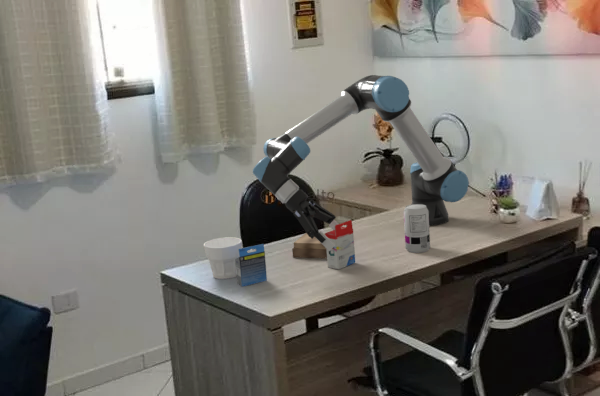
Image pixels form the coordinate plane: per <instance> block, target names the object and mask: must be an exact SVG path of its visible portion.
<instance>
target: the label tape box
mask: <svg viewBox="0 0 600 396" xmlns="http://www.w3.org/2000/svg"><path fill="white" fill-rule="evenodd" d="M238 250H239V257H238V258H236V259H235V265H236V283H237V285H239V286H240V287H242V288H243V287H247V286H251V285H254V284H258V283H259V284H260V283H263V282H267V280H268V278H267V276H268V275H267V265H266V263H267V262H266V252H265V251H266V250H265V244H264V243H261V244H256V245H251V246H247V247H242V248H240V249H238ZM251 250H253V251H251ZM254 250H255V251H254ZM250 251H251V252H250Z"/></svg>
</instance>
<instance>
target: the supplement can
mask: <svg viewBox="0 0 600 396" xmlns="http://www.w3.org/2000/svg"><path fill="white" fill-rule="evenodd" d="M411 204H412V203H411ZM411 204H408V205H406V206H404V207H405V208H404V209H403V224H404V226H403V228H404V242H405V244H404V245H405V246H404V248H405V249H406V250H407V252H409V253H414V254H417V253H425V252H428V251H429V249H430V248H431V237H430V226H429V212H428V209H427V207H426V205H423V204H412V205H411Z"/></svg>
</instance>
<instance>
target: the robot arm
mask: <svg viewBox="0 0 600 396" xmlns="http://www.w3.org/2000/svg"><path fill="white" fill-rule="evenodd" d="M411 106H412V100H411V98H410V90H409V88H408V85H407V84H406V83H405V82H404V80H402V79H400V78H399V77H395V76H392V75H376V74H374V75H373V74H371V75H367V76H364V77H362V78H360V79H358V80H357V81H355V82H354V83H353V84H351V85H350V86H348V87H346V88H344V90H342V91H341V92H340V96H338V97H336V98H335V99H334V100H332V101H331V102H329V103H328V104H326V105H325V106H323V107H322V108H320V109H318V110H317V111H315V112H314V113H313V114H311V115H310V116H308V117H307V118H305V119H304V120H302V121H300V122H299V123H298V124H296V125H295V126H293V127H291V128H290V129H288V130H287V131H286V132H283V133H282V134H281V135H279V136H278V137H274V138H273V137H272V138H270V139H268V140H266V141H265V142H264V144H263V154H264V157H263V158H262V159H260V160H259V161H258V162H257V163H256V165H255V166H254V167H253V169H252V175H254V177H255V178H256V179H257V180H258V181H259V182H260V183H261V184H262V185H263V186H264V187H265V188H266V189H267V190H269V192H271V194H273V195H274V196H275V198H277V199H276V200H278V201H280V202H281V203H282V204H284V205H285V207H286V209H288V210H289V211H290V212H291V213H293V216H294V217H295V219H297V220H298V223H299V224H300V225H301V226H302V228H303V230H304V232H305V233H307V234H308V236H309V237H311V238H312V239H313V238H314V237H315V238H316V239H317V240H318V241H319V242H320V243H321V244H322V245H323V246H324V247H325V248H327V249H328V250H329V251H330V250H331V249H332V248H333V247H334V246H335V244H334V243H333V242H332V241H331V240H330V239H329V238H328V237H327V236H326V235H325V233H324V232H323V231H322V230H320V231H319V229H318V226H317V224H316V221H315V220H314V218H316V219H317V220H320V221H322V222H324V223H327V224H329V225H328V226H329V228H331V230H332V231H333V230H335V225H338V224H339V222H338V221H336V220H335V219H336V215H335V214H334V213H332V212H331V211H329V210H327V209H326V208H324V207H323V206H321V205H320V204H318V203H317V202H316V201H315V200H313V199H311V200H309V201H308V197H309V196H308V194H307V193H305V191H304V190H303V189H301V188H300V187H299V185H298V184H297V183H296V182H294V181H293V180H292V179H291V178H290V177H289V175H290V174H291V173H292V172H293V171H294V170H295V169H296V168H297V167H298V166H299V165H300V164H301V163H302V162H303V161H305V159H306V158H307V157H308V156H309V155H310V154H311V148H310V145H308V144H309V143H311V142H312V141H314V140H315V139H317V138H318V137H319V136H321V135H323V134H324V133H326V132H327V131H329V130H330V129H332V128H333V127H335V126H336V125H338V124H339V123H341V122H343V120H346V119H347V118H348V117H349V116H351V115H358V114H359V113H361V112H363V111H365V110H369V109H372V110H375V112H377V114H378V115H379V117H380V118H381V120H382V121H383V122H386V123H389V124H390V125H391V126H392V128H393V129H394V131H395V132H396V134H397V135H398V137H399V138H400V139H401V141H402V143H403V144H404V145H405V146H406V148H407V149H408V151H409V152H410V153H411V155H412V157H413V158H414V159H415V161H416V162H413V163H412V164H411V165H410V171H409V173H410V188H411V204H410V205H412V204H423V205H426V207H427V209H428V212H429V227H430V226H437V225H442V224H445V223H447V222H449V220H450V219H449V213H448V210H447V207H446V204H445V202H447V203H455V202H458V201H461V200H462V199H463V198H464V197H465V196H466V194H467V192H468V188H469V184H470V182H469V177H468V176H467V174H466V173H465V172H463V171H462V170H460V169H459V170H458V169H457V167H456V166H455V164H453V162H452V161H451V158H447V157H444V156H443V154H442V153H441V151H440V150H439V149H438V147H437V146H436V144H435V143H434V141H433V140H432V138H431V137H430V135H429V134H428V132H427V131H426V129H425V128H424V126H423V125H422V123H421V122H420V120H419V119H418V117H417V115H415V113H414V111H413V110H412V108H411Z"/></svg>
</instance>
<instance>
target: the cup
mask: <svg viewBox="0 0 600 396" xmlns="http://www.w3.org/2000/svg"><path fill="white" fill-rule="evenodd" d="M240 248H243V241H242V238H239V237H234V236H227V237H226V236H223V237H217V238H212V239H209V240H207V241H205V242H204V243H203V249H204V252H205V256H206V259H208V261H209V262H208V263H209V265H210V269H211V271H212V276H213V279H217V280H227V279H232V278H237V276H236V265H235V259H236V258H238V257H239V250H238V249H240Z"/></svg>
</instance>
